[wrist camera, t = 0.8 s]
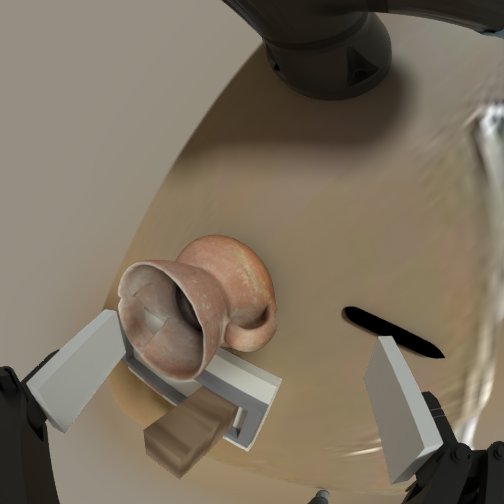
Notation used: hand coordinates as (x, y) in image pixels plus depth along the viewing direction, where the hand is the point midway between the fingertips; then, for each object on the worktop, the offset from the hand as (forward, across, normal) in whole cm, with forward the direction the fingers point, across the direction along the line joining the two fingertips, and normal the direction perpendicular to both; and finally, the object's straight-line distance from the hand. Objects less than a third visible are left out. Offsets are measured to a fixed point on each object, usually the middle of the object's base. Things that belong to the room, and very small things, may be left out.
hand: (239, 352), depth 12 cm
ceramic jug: (+22, -4, -7) cm, 24 cm away
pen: (+15, +16, -8) cm, 23 cm away
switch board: (+23, -12, -25) cm, 36 cm away
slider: (+18, -5, -26) cm, 32 cm away
